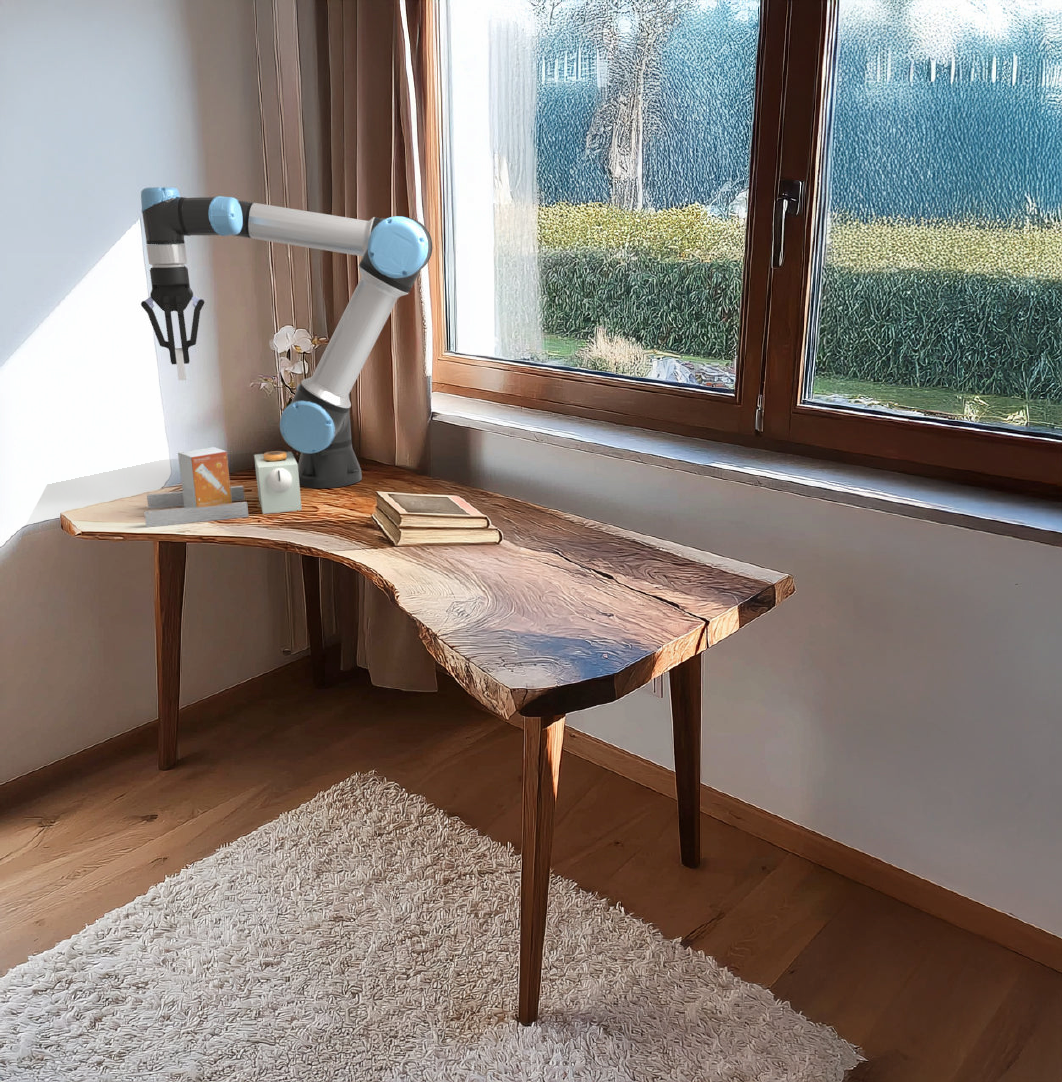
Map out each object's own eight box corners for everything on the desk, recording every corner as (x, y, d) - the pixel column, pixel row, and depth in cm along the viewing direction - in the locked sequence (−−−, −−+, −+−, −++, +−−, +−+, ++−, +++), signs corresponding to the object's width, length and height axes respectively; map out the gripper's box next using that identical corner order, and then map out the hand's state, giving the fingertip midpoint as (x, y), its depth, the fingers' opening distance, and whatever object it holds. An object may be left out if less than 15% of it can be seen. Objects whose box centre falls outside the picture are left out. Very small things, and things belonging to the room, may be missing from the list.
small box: (197, 518, 204) (190, 457, 200) (184, 512, 209) (176, 452, 205) (233, 510, 209) (227, 450, 205) (220, 504, 214) (213, 446, 210)
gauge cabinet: (295, 495, 221) (291, 451, 217) (302, 510, 208) (297, 464, 205) (258, 498, 218) (254, 454, 215) (263, 514, 206) (258, 468, 203)
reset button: (287, 477, 215) (285, 450, 213) (289, 482, 210) (287, 454, 209) (265, 479, 213) (262, 452, 211) (266, 484, 209) (264, 456, 207)
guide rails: (244, 498, 218) (243, 485, 217) (248, 516, 204) (247, 503, 203) (148, 507, 212) (146, 494, 211) (146, 527, 198) (144, 513, 197)
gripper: (200, 264, 210) (213, 375, 217) (135, 266, 206) (150, 378, 213) (201, 265, 203) (214, 379, 211) (134, 267, 199) (149, 383, 207)
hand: (182, 379), depth 212 cm, fingers closed
